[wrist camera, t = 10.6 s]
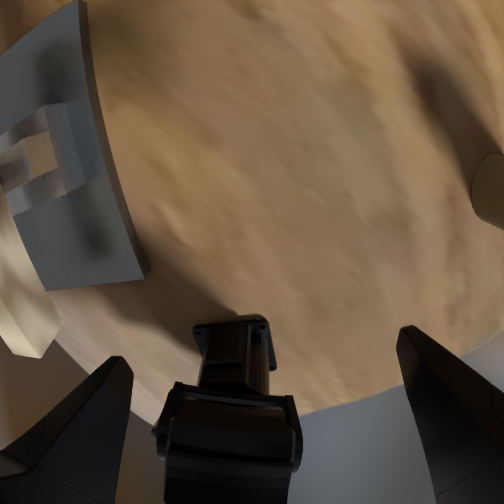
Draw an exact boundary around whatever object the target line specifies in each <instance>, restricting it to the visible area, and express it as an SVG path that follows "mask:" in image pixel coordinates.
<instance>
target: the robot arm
mask: <svg viewBox="0 0 504 504" xmlns="http://www.w3.org/2000/svg"><path fill="white" fill-rule="evenodd" d="M261 325H265V326H261ZM198 331H200V332H198ZM192 334H193V336H194V338H195V341H196V343H197V345H198V347H199V350H200V352H201V354H202V356H203V357H202V362H201V367H200V371H199V376H198V381H197V386H192V385H187V384H183V383H182V382H177V381H176V382H175V384H174V387H173V389H171V390H170V392H169V393H168V396H167V400H166V402H165V405H164V408H163V410H162V413H161V415H160V417H159V418H158V420H157V422H156V423H155V425H154V426H153V428H152V437H153V438H154V439H155V441H156V446H157V455H158V457H159V459H164V460H165V473H164V502H165V503H166V504H287V497H288V488H289V484H290V478H291V474H292V473H295V472H296V471H297V470H298V468H299V466H300V463H301V459H302V452H303V436H302V430H301V426H300V422H299V418H298V414H297V410H296V406H295V402H294V398H293V395H285V396H275V395H269V371H275V370H276V369H277V363H276V358H275V353H274V348H273V343H272V337H271V332H270V327H269V323H268V321H267V320H265V319H260V320H251V321H241V322H232V323H221V324H210V325H198V326H194V327H193V330H192ZM396 351H397V356H398V360H399V364H400V368H401V372H402V376H403V381H404V385H405V390H406V393H407V397H408V400H409V403H410V406H411V409H412V412H413V415H414V418H415V421H416V425H417V428H418V431H419V435H420V438H421V442H422V445H423V449H424V452H425V456H426V460H427V463H428V468H429V472H430V476H431V480H432V485H433V489H434V494H435V500H436V504H504V393H503V392H502V391H501V390H499V389H498V388H497V387H495V386H494V385H492V384H491V383H490V382H489V381H488V380H486V379H485V378H484V377H483V376H481V375H480V374H479V373H477V372H476V371H475V370H473V369H472V368H471V367H469V366H468V365H467V364H465V363H464V362H463V361H461V360H460V359H459V358H458V357H456V356H455V355H454V354H452V353H451V352H450V351H448V350H447V349H446V348H444V347H443V346H442V345H440V344H439V343H437V342H436V341H435V340H433V339H432V338H431V337H429V336H428V335H427V334H425V333H424V332H422V331H421V330H420V329H418V328H417V327H415V326H414V325H409V326H405V327H402V328H401V329H400V331H399V336H398V340H397V344H396ZM133 379H134V374H133V371H132V369H131V368H130V366H129V365H128V363H127V362H126V360H125V359H124V358H123V357H122V356H111V357H110V358H109V359H107V360H106V361H105V362H104V363H103V364H102V365H101V366H100V367H98V368H97V369H96V370H95V371H94V372H93V373H92V374H91V375H89V376H88V377H87V378H86V379H85V380H84V381H83V382H82V383H81V384H79V385H78V386H77V387H76V388H75V389H74V390H73V391H72V392H70V393H69V394H68V395H67V396H66V397H65V398H64V399H63V400H62V401H61V402H60V403H58V404H57V405H56V406H55V407H54V408H53V409H52V410H51V411H50V412H48V414H47V415H45V416H44V417H43V418H42V419H41V420H40V421H38V422H37V423H36V424H35V425H34V426H33V427H32V428H30V429H29V430H28V431H27V432H25V433H24V434H23V435H22V436H20V437H19V438H18V439H16V440H15V441H14V442H12V443H11V444H10V445H8V446H7V447H6V448H4V449H3V450H1V451H0V504H115V497H116V490H117V482H118V475H119V469H120V462H121V456H122V451H123V445H124V440H125V434H126V429H127V424H128V419H129V414H130V405H131V396H132V387H133Z"/></svg>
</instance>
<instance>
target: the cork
mask: <svg viewBox="0 0 504 504" xmlns="http://www.w3.org/2000/svg"><path fill="white" fill-rule="evenodd" d="M471 199H472V205H473V208H474V211H475V213H476V215H477V216H478V217H479V218H480V219H481V220H483V221H485V222H487V223H490V224H492V225H494V226H496V227H498V228H500V229H502V230H504V157H503V156H501V155H500V154H491V155H489V156H487V157H486V158H484V160H483V161H482V162H481V163H480V164H479V166H478V168H477V170H476V172H475V174H474V178H473V183H472V190H471Z"/></svg>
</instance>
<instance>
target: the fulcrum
mask: <svg viewBox="0 0 504 504" xmlns="http://www.w3.org/2000/svg"><path fill="white" fill-rule="evenodd" d="M0 176H1V179H2V183H3V184H2V186H3V190H4V193H5V196H6V199H7V202H8V205H9V208H10V211H11V214H12V217H13V219H14V222H15V225H16V227H17V230H18V232H19V235H20V237H21V240H22V242H23V244H24V247H25V249H26V251H27V254H28V256H29V258H30V260H31V262H32V264H33V267H34V269H35V271H36V273H37V275H38V277H39V279H40V281H41V283H42V285H43V286H44V288H45V290H46V291H48V290H57V289H66V288H74V287H83V286H92V285H100V284H108V283H117V282H125V281H133V280H141V279H145V278H146V276H147V275H148V273H149V271H150V269H149V267H148V264H147V261H146V259H145V256H144V254H143V251H142V248H141V245H140V243H139V240H138V237H137V234H136V231H135V229H134V226H133V223H132V220H131V217H130V214H129V211H128V208H127V205H126V201H125V198H124V195H123V192H122V189H121V185H120V182H119V178H118V175H117V171H116V168H115V164H114V161H113V157H112V153H111V149H110V145H109V141H108V137H107V133H106V129H105V125H104V120H103V116H102V111H101V106H100V101H99V96H98V91H97V86H96V80H95V74H94V68H93V61H92V54H91V47H90V39H89V30H88V19H87V6H86V2H85V1H83V0H74V1H72V2H71V3H69V4H68V5H66V6H64V7H63V8H61V9H60V10H58V11H57V12H55V13H54V14H52V15H51V16H49V17H48V18H47V19H45V20H44V21H42V22H41V23H40V24H38V25H37V26H36V27H34V28H33V29H32V30H30V31H29V32H28V33H27V34H25V35H24V36H23V37H22V38H20V39H19V40H18V41H17V42H16V43H14V44H13V45H12V46H11V47H10V48H9V49H8V50H6V51H5V52H4V53H3V54H2V55H1V56H0Z"/></svg>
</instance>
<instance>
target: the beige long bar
mask: <svg viewBox="0 0 504 504" xmlns="http://www.w3.org/2000/svg"><path fill="white" fill-rule="evenodd" d="M2 184H3V183H2V179H1V176H0V335H1V337H2V338H3V340H4V341H5V342H6V344H7V345H8V347H9V348H10V349H11V351H12V352H13V353H14V354H17V355H23V356H29V357H34V358H41V357H42V356H43V354H44V352H45V351H46V349H47V348H48V346H49V345H50V343H51V342H52V340H53V339H54V337H55V336H56V334H57V333H58V331H59V330H60V329H61V327H62V326H63V324H64V322H63V320H62V318H61V317H60V315H59V313H58V312H57V310H56V308H55V306H54V305H53V303H52V301H51V299H50V298H49V296H48V294H47V292H46V290H45V288H44V286H43V285H42V283H41V281H40V279H39V277H38V275H37V273H36V271H35V269H34V267H33V264H32V262H31V260H30V258H29V256H28V254H27V251H26V249H25V247H24V244H23V242H22V240H21V237H20V235H19V232H18V230H17V227H16V225H15V222H14V219H13V217H12V214H11V211H10V208H9V205H8V202H7V199H6V196H5V193H4V190H3V186H2Z"/></svg>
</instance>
